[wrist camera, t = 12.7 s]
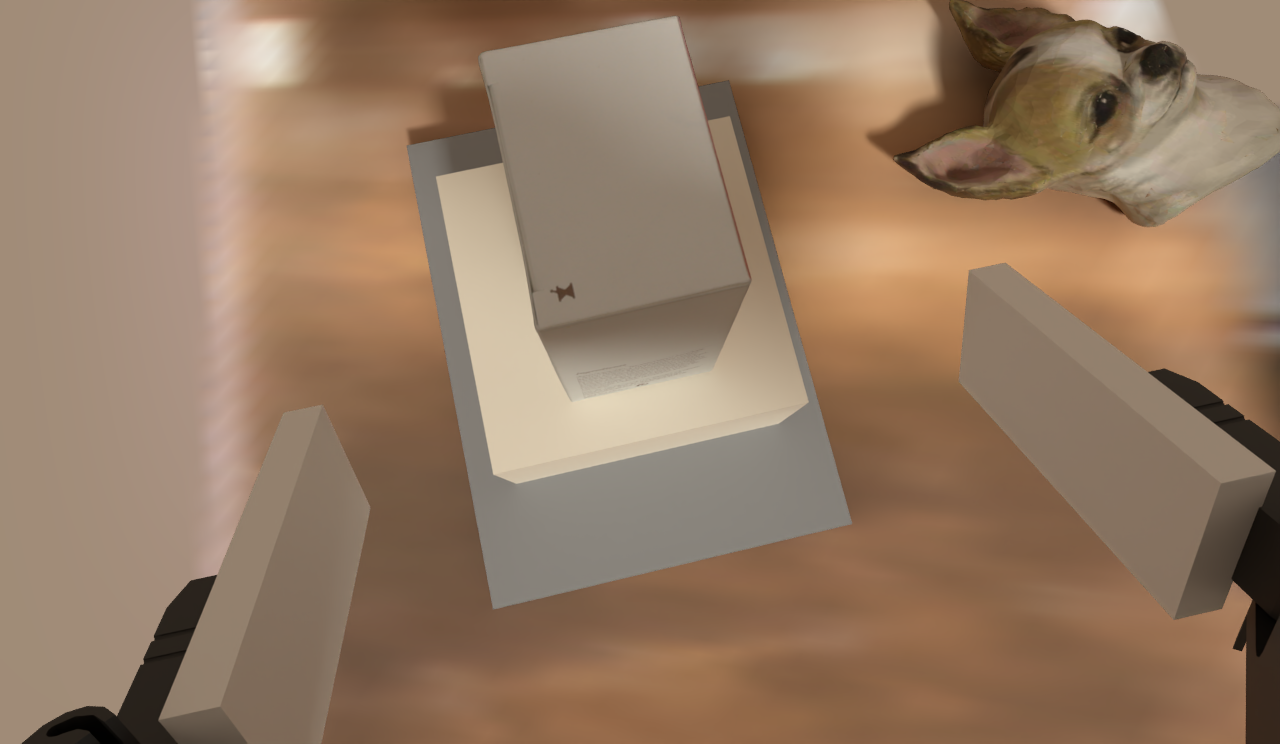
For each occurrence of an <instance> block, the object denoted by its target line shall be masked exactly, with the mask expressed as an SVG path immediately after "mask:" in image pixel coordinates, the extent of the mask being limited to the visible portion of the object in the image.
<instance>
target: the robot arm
mask: <svg viewBox="0 0 1280 744" xmlns="http://www.w3.org/2000/svg"><path fill="white" fill-rule="evenodd" d="M959 382H960V384H961V385H962V386H963V387H964V388H965V389H966V390H967V391H968V392H969V393H970V395H971V396H972V397H973V398H974V399H975V400H976V401H977V402H978V403H979V405H980V406H981V407H982V408H983V409H984V410H985V411H986V412H987V413H988V415H989V416H990V417H991V418H992V419H993V420H994V421H995V422H996V423H997V425H998V426H999V427H1000V428H1001V429H1002V430H1003V431H1004V432H1005V433H1006V434H1007V436H1008V437H1009V438H1010V439H1011V440H1012V441H1013V442H1014V443H1015V444H1016V446H1017V447H1018V448H1019V449H1020V450H1021V451H1022V452H1023V453H1024V454H1025V456H1026V457H1027V458H1028V459H1029V460H1030V461H1031V462H1032V463H1033V464H1034V466H1035V467H1036V468H1037V469H1038V470H1039V471H1040V472H1041V473H1042V474H1043V475H1044V477H1045V478H1046V479H1047V480H1048V481H1049V482H1050V483H1051V484H1052V485H1053V487H1054V488H1055V489H1056V490H1057V491H1058V492H1059V493H1060V494H1061V495H1062V497H1063V498H1064V499H1065V500H1066V501H1067V502H1068V503H1069V504H1070V505H1071V507H1072V508H1073V509H1074V510H1075V511H1076V512H1077V513H1078V514H1079V515H1080V516H1081V518H1082V519H1083V520H1084V521H1085V522H1086V523H1087V524H1088V525H1089V526H1090V528H1091V529H1092V530H1093V531H1094V532H1095V533H1096V534H1097V535H1098V536H1099V538H1100V539H1101V540H1102V541H1103V542H1104V543H1105V544H1106V545H1107V546H1108V548H1109V549H1110V550H1111V551H1112V552H1113V553H1114V554H1115V555H1116V556H1117V557H1118V559H1119V560H1120V561H1121V562H1122V563H1123V564H1124V565H1125V566H1126V567H1127V569H1128V570H1129V571H1130V572H1131V573H1132V574H1133V575H1134V576H1135V577H1136V579H1137V580H1138V581H1139V582H1140V583H1141V584H1142V585H1143V586H1144V587H1145V589H1146V590H1147V591H1148V592H1149V593H1150V594H1151V595H1152V596H1153V597H1154V598H1155V600H1156V601H1157V602H1158V603H1159V604H1160V605H1161V606H1162V607H1163V608H1164V610H1165V611H1166V612H1167V613H1168V614H1169V615H1170V616H1171V617H1172V618H1173V620H1175V619H1180V618H1184V617H1188V616H1193V615H1197V614H1201V613H1206V612H1210V611H1214V610H1219V609H1222V607H1223V605H1224V602H1225V600H1226V597H1227V595H1228V592H1229V590H1230V587H1231V584H1232V582H1233V581H1234V582H1235V583H1236V584H1237V585H1238V586H1239V587H1240V588H1241V589H1242V590H1244V591H1245V592H1246V593H1247V594H1248V595H1249V596H1250V597H1251V598H1252V599H1253V600H1252V603H1251V605H1250V607H1249V610H1248V612H1247V615H1246V617H1245V619H1244V622H1243V624H1242V626H1241V629H1240V631H1239V634H1238V636H1237V638H1236V641H1235V644H1234V646H1233V649H1236V650H1239V651H1242V650H1243V647H1244V645H1245V643H1246V744H1280V442H1279V441H1278V440H1277V439H1275V438H1274V437H1272V436H1271V435H1270V434H1268V433H1267V432H1266V431H1264V430H1263V429H1261V428H1260V427H1259V426H1257V425H1256V424H1255V423H1253V422H1252V421H1251V420H1245V419H1244V415H1242V414H1241V413H1240V412H1238V411H1237V410H1235V409H1234V408H1233V407H1231V406H1230V405H1229V404H1228V405H1224V403H1223V400H1222V399H1220V398H1219V397H1218V396H1216V395H1215V394H1213V393H1212V392H1211V391H1209V390H1208V389H1207V388H1205V387H1204V386H1202V385H1201V384H1200V383H1198V382H1196V381H1194V380H1191V379H1189V378H1186V377H1184V376H1181V375H1179V374H1176V373H1174V372H1172V371H1169V370H1167V369H1160V370H1156V371H1151V372H1147V371H1145V370H1144V369H1143V368H1141V367H1140V366H1139V365H1138V364H1136V363H1135V362H1134V361H1132V360H1131V359H1130V358H1128V357H1127V356H1126V355H1125V354H1123V353H1122V352H1121V351H1119V350H1118V349H1117V348H1115V347H1114V346H1113V345H1112V344H1110V343H1109V342H1108V341H1106V340H1105V339H1104V338H1102V337H1101V336H1100V335H1099V334H1097V333H1096V332H1095V331H1093V330H1092V329H1091V328H1089V327H1088V326H1087V325H1086V324H1084V323H1083V322H1082V321H1080V320H1079V319H1078V318H1076V317H1075V316H1074V315H1073V314H1071V313H1070V312H1069V311H1067V310H1066V309H1065V308H1063V307H1062V306H1061V305H1060V304H1058V303H1057V302H1056V301H1054V300H1053V299H1052V298H1050V297H1049V296H1048V295H1047V294H1045V293H1044V292H1043V291H1041V290H1040V289H1039V288H1037V287H1036V286H1035V285H1034V284H1032V283H1031V282H1030V281H1028V280H1027V279H1026V278H1024V277H1023V276H1022V275H1021V274H1019V273H1018V272H1017V271H1015V270H1014V269H1013V268H1011V267H1010V266H1009V265H1008V264H1006V263H1002V264H997V265H992V266H987V267H982V268H978V269H973V270H969V276H968V287H967V298H966V309H965V320H964V331H963V342H962V353H961V364H960V375H959ZM369 512H370V506H369V503H368V501H367V499H366V497H365V495H364V493H363V490H362V488H361V486H360V484H359V482H358V480H357V478H356V475H355V473H354V471H353V469H352V467H351V465H350V462H349V460H348V458H347V456H346V454H345V452H344V449H343V447H342V445H341V443H340V441H339V439H338V437H337V434H336V432H335V430H334V428H333V426H332V424H331V421H330V419H329V417H328V415H327V413H326V411H325V409H324V406H323V405H319V406H314V407H309V408H304V409H299V410H295V411H290V412H285V413H283V415H282V418H281V420H280V423H279V425H278V428H277V430H276V433H275V435H274V437H273V440H272V442H271V445H270V447H269V450H268V452H267V455H266V457H265V460H264V462H263V464H262V467H261V469H260V472H259V474H258V477H257V479H256V482H255V484H254V487H253V489H252V491H251V494H250V496H249V499H248V501H247V504H246V506H245V509H244V511H243V514H242V516H241V518H240V521H239V523H238V526H237V528H236V531H235V533H234V536H233V538H232V541H231V543H230V545H229V548H228V550H227V553H226V555H225V558H224V560H223V563H222V565H221V567H220V570H219V572H218V575H215V576H210V577H205V578H201V579H196V580H191V581H190V582H189V583H188V584H187V585H186V587H185V588H184V589H183V590H182V591H181V592H180V593H179V595H178V596H177V597H176V598H175V599H174V600H173V601H172V603H171V604H170V605H169V606H168V607H167V609H166V611H165V613H164V615H163V618H162V619H161V622H160V624H159V626H158V628H157V630H156V633H155V635H154V638H155V640H154V641H152V642H151V643H150V646H149V648H148V650H147V652H146V654H145V656H144V664H143V665H140V668H139V670H138V672H137V674H136V676H135V678H134V681H133V683H132V685H131V687H130V689H129V691H128V694H127V696H126V698H125V700H124V702H123V704H122V707H121V709H120V711H119V713H118V715H117V716H116V715H115V714H113V713H112V712H111V711H109V710H108V709H106V708H105V707H95V706H94V707H93V706H86V707H83V708H79V709H76V710H73V711H70V712H67V713H65V714H63V715H61V716H59V717H57V718H56V719H54V720H52V721H50V722H48V723H47V724H45V725H43V726H42V727H41V728H39V729H38V730H37V731H36V732H35V733H34V734H32V735H31V736H30V737H29V738H28V739H26V740H25V741H24V742H23V743H22V744H321V742H322V737H323V733H324V728H325V723H326V718H327V713H328V709H329V704H330V699H331V694H332V689H333V685H334V680H335V675H336V670H337V665H338V661H339V656H340V651H341V646H342V642H343V637H344V632H345V627H346V622H347V618H348V613H349V608H350V603H351V598H352V594H353V589H354V584H355V579H356V574H357V570H358V565H359V560H360V555H361V551H362V546H363V541H364V536H365V531H366V527H367V522H368V517H369Z"/></svg>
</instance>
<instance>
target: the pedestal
mask: <svg viewBox="0 0 1280 744" xmlns="http://www.w3.org/2000/svg"><path fill="white" fill-rule="evenodd" d="M698 88H699V91H700V95H701V99H702V102H703V106H704V109H705V113H706V117H707V120H708V124H709V127H710V131H711V135H712V138H713V142H714V146H715V149H716V153H717V156H718V160H719V163H720V167H721V171H722V174H723V178H724V181H725V185H726V189H727V192H728V196H729V200H730V203H731V207H732V210H733V214H734V217H735V221H736V225H737V228H738V232H739V235H740V239H741V242H742V246H743V250H744V253H745V257H746V261H747V264H748V268H749V272H750V275H751V278H752V282H751V284H750V286H749V288H748V291H747V293H746V295H745V297H744V299H743V302H742V304H741V307H740V309H739V311H738V314H737V316H736V318H735V320H734V323H733V324H732V327H731V329H730V332H729V334H728V336H727V338H726V340H725V343H724V345H723V348H722V350H721V352H720V354H719V356H718V359H717V361H716V363H715V365H714V368H713V369H712V370H711V371H709V372H704V373H700V374H695V375H691V376H687V377H682V378H678V379H674V380H669V381H665V382H660V383H656V384H651V385H647V386H642V387H637V388H633V389H628V390H624V391H620V392H615V393H611V394H606V395H602V396H597V397H592V398H588V399H584V400H580V401H576V402H571V401H570V399H569V397H568V395H567V393H566V391H565V390H564V388H563V386H562V384H561V382H560V380H559V378H558V376H557V374H556V372H555V370H554V367H553V365H552V363H551V361H550V358H549V356H548V354H547V351H546V350H545V348H544V346H543V344H542V341H541V339H540V337H539V335H538V333H537V332H536V330H535V327H534V320H533V313H532V307H531V301H530V295H529V289H528V283H527V277H526V272H525V266H524V260H523V255H522V250H521V246H520V241H519V236H518V231H517V226H516V221H515V217H514V212H513V207H512V202H511V198H510V193H509V188H508V184H507V179H506V174H505V170H504V165H503V160H502V156H501V151H500V147H499V142H498V137H497V133H496V129H495V128H492V129H487V130H482V131H477V132H472V133H467V134H462V135H457V136H452V137H447V138H442V139H437V140H432V141H428V142H423V143H418V144H413V145H408V146H407V150H408V155H409V161H410V166H411V171H412V177H413V182H414V188H415V193H416V198H417V204H418V209H419V214H420V220H421V225H422V230H423V236H424V241H425V246H426V252H427V257H428V263H429V268H430V273H431V279H432V284H433V289H434V295H435V300H436V305H437V311H438V316H439V322H440V327H441V332H442V338H443V343H444V348H445V354H446V359H447V364H448V370H449V375H450V380H451V386H452V391H453V397H454V402H455V407H456V413H457V418H458V423H459V429H460V434H461V439H462V445H463V450H464V456H465V461H466V466H467V472H468V477H469V482H470V488H471V493H472V498H473V504H474V509H475V514H476V520H477V525H478V531H479V536H480V541H481V547H482V552H483V557H484V563H485V568H486V573H487V579H488V584H489V590H490V595H491V600H492V606H493V609H497V608H501V607H506V606H510V605H514V604H518V603H522V602H527V601H531V600H535V599H539V598H543V597H548V596H552V595H556V594H560V593H564V592H568V591H573V590H577V589H581V588H585V587H589V586H594V585H598V584H602V583H606V582H610V581H615V580H619V579H623V578H627V577H631V576H636V575H640V574H644V573H648V572H652V571H657V570H661V569H665V568H669V567H673V566H677V565H682V564H686V563H690V562H694V561H698V560H703V559H707V558H711V557H715V556H719V555H724V554H728V553H732V552H736V551H740V550H745V549H749V548H753V547H757V546H761V545H765V544H770V543H774V542H778V541H782V540H786V539H791V538H795V537H799V536H803V535H807V534H812V533H816V532H820V531H824V530H828V529H833V528H837V527H841V526H845V525H849V524H852V522H851V518H850V514H849V511H848V507H847V504H846V500H845V496H844V493H843V489H842V486H841V482H840V478H839V475H838V471H837V468H836V464H835V460H834V457H833V453H832V450H831V446H830V442H829V439H828V435H827V432H826V428H825V424H824V421H823V417H822V414H821V410H820V406H819V403H818V399H817V396H816V392H815V388H814V385H813V381H812V378H811V374H810V371H809V367H808V363H807V360H806V356H805V353H804V349H803V345H802V342H801V338H800V335H799V331H798V327H797V324H796V320H795V317H794V313H793V309H792V306H791V302H790V299H789V295H788V291H787V288H786V284H785V281H784V277H783V273H782V270H781V266H780V263H779V259H778V255H777V252H776V248H775V245H774V241H773V237H772V234H771V230H770V227H769V223H768V219H767V216H766V212H765V209H764V205H763V202H762V198H761V194H760V191H759V187H758V184H757V180H756V176H755V173H754V169H753V166H752V162H751V158H750V155H749V151H748V148H747V144H746V140H745V137H744V133H743V130H742V126H741V122H740V119H739V115H738V112H737V108H736V104H735V101H734V97H733V94H732V90H731V86H730V83H729V80H728V81H723V82H718V83H713V84H709V85H704V86H699V87H698Z"/></svg>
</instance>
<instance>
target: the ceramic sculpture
mask: <svg viewBox="0 0 1280 744" xmlns="http://www.w3.org/2000/svg"><path fill="white" fill-rule="evenodd" d="M949 8H950V11H951V13H952V15H953V17H954V19H955V21H956V23H957V25H958V27H959V28H960V31H961V34H962V37H963V39H964V41H965V42H966V44H967V46H968V48H969V50H970V52H971V54H972V56H973V57H974V59H975V60H976V61H977V62H978V63H980V64H981V65H982V66H983V67H985V68H988V69H991V70H995V71H998V72H1001V73H1000V74H999V76H998V77H997V79H996V81H995V82H994V84H993V85H992V87H991V89H990V91H989V93H988V96H987V100H986V103H985V110H984V125H983V126H970V127H965V128H961V129H958V130H956V131H953V132H950V133H947V134H945V135H943V136H942V137H940V138H937V139H935V140H933V141H931V142H929V143H927V144H925V145H924V146H922V147H920V148H918V149H917V150H914V151H910V152H906V153H902V154H898V155H895V156H894V158H893V160H894V161H895V162H896V163H897V164H898V165H900V166H901V167H902V168H904V169H905V170H906V171H908V172H909V173H911V174H912V175H914V176H915V177H916V178H918V179H919V180H920V181H922V182H923V183H925V184H927V185H929V186H930V187H932V188H934V189H937V190H941V191H944V192H946V193H948V194H950V195H952V196H957V197H962V198H975V199H981V200H990V199H992V200H998V199H1002V198H1005V199H1016V198H1022V197H1027V196H1031V195H1034V194H1037V193H1039V192H1041V191H1043V190H1044V189H1047V188H1049V189H1052V190H1058V191H1066V192H1073V193H1077V194H1081V195H1086V196H1090V197H1096V198H1103V199H1106V200H1109V201H1111V202H1113V203H1115V204H1116V205H1117V206H1118V207H1119V208H1120V209H1121V210H1122V212H1123V213H1124V214H1125V215H1126V217H1127V218H1128V219H1129V220H1130V221H1131V222H1133V223H1135V224H1137V225H1140V226H1143V227H1156V226H1159V225H1162V224H1164V223H1165V222H1167V221H1168V220H1170V219H1172V218H1174V217H1176V216H1177V215H1178V214H1180V213H1181V212H1183V211H1184V210H1185V209H1187V208H1188V207H1190V206H1191V205H1193V204H1194V203H1196V202H1198V201H1199V200H1201V199H1202V198H1204V197H1206V196H1207V195H1209V194H1210V193H1212V192H1214V191H1216V190H1218V189H1220V188H1222V187H1224V186H1226V185H1228V184H1230V183H1232V182H1234V181H1236V180H1238V179H1239V178H1241V177H1243V176H1245V175H1246V174H1248V173H1249V172H1251V171H1253V170H1255V169H1257V168H1259V167H1260V166H1262V165H1263V164H1264V163H1265V162H1267V161H1268V160H1269V159H1271V158H1272V157H1273V156H1275V155H1276V154H1277V153H1279V152H1280V109H1279V108H1278V107H1277V106H1276V105H1275V104H1274V103H1273V102H1272V101H1271V100H1270V99H1268V98H1267V96H1266V95H1265V94H1264V93H1263V92H1261V91H1260V90H1257V89H1255V88H1252V87H1249V86H1247V85H1244V84H1243V83H1241V82H1240V81H1237V80H1234V79H1231V78H1227V77H1221V76H1214V75H1200V74H1197V72H1196V68H1195V66H1194V65H1193V63H1191V62H1190V61H1189V60H1187V57H1186V53H1185V51H1184V50H1183V49H1182V48H1181V47H1179V46H1178V45H1176V44H1173V43H1171V42H1166V41H1161V42H1157V43H1155V42H1152V41H1149V40H1145V39H1143V38H1142V37H1141V36H1139V35H1136V34H1134V33H1133V32H1130V31H1128V30H1126V29H1124V28H1120V27H1117V26H1113V27H1111V28H1106V27H1104V26H1102V25H1100V24H1098V23H1097V22H1095V21H1091V20H1079V21H1075V20H1074V19H1073V18H1072V17H1070V16H1068V15H1066V14H1054V13H1051V12H1049V11H1048V10H1045V9H1042V8H1033V9H1031V8H1027V7H1026V8H1024V9H1022V10H1018V11H1017V10H1016V9H1014V8H994V9H986V8H981V7H976V6H974V5H973V4H971V3H969V2H967V1H963V0H950V3H949Z"/></svg>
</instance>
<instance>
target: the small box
mask: <svg viewBox="0 0 1280 744" xmlns="http://www.w3.org/2000/svg"><path fill="white" fill-rule="evenodd" d="M478 61H479V66H480V69H481V73H482V76H483V80H484V84H485V87H486V91H487V95H488V99H489V103H490V107H491V111H492V116H493V120H494V124H495V129H496V133H497V137H498V142H499V147H500V151H501V156H502V160H503V165H504V170H505V174H506V179H507V184H508V188H509V193H510V198H511V202H512V207H513V212H514V217H515V221H516V226H517V231H518V236H519V241H520V246H521V250H522V255H523V260H524V266H525V272H526V277H527V283H528V289H529V295H530V301H531V307H532V313H533V320H534V327H535V330H536V332H537V333H538V335H539V337H540V339H541V341H542V344H543V346H544V348H545V350H546V351H547V354H548V356H549V358H550V361H551V363H552V365H553V367H554V370H555V372H556V374H557V376H558V378H559V380H560V382H561V384H562V386H563V388H564V390H565V391H566V393H567V395H568V397H569V399H570V401H571V402H576V401H580V400H584V399H588V398H592V397H597V396H602V395H606V394H611V393H615V392H620V391H624V390H628V389H633V388H637V387H642V386H647V385H651V384H656V383H660V382H665V381H669V380H674V379H678V378H682V377H687V376H691V375H695V374H700V373H704V372H709V371H711V370H712V369H713V368H714V365H715V363H716V361H717V359H718V356H719V354H720V352H721V350H722V348H723V345H724V343H725V340H726V338H727V336H728V334H729V332H730V329H731V327H732V324H733V323H734V320H735V318H736V316H737V314H738V311H739V309H740V307H741V304H742V302H743V299H744V297H745V295H746V293H747V291H748V288H749V286H750V284H751V282H752V278H751V275H750V272H749V268H748V264H747V261H746V257H745V253H744V250H743V246H742V242H741V239H740V235H739V232H738V228H737V225H736V221H735V217H734V214H733V210H732V207H731V203H730V200H729V196H728V192H727V189H726V185H725V181H724V178H723V174H722V171H721V167H720V163H719V160H718V156H717V153H716V149H715V146H714V142H713V138H712V135H711V131H710V127H709V124H708V120H707V117H706V113H705V109H704V106H703V102H702V99H701V95H700V91H699V88H698V84H697V80H696V77H695V73H694V69H693V66H692V62H691V58H690V55H689V52H688V48H687V45H686V41H685V37H684V34H683V30H682V26H681V21H680V17H678V16H672V17H667V18H661V19H654V20H648V21H643V22H638V23H632V24H627V25H622V26H617V27H612V28H607V29H602V30H596V31H591V32H586V33H581V34H575V35H570V36H565V37H560V38H555V39H550V40H545V41H539V42H534V43H529V44H524V45H519V46H513V47H507V48H502V49H496V50H490V51H485V52H482V53H481V54H480V55H479V56H478Z"/></svg>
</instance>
